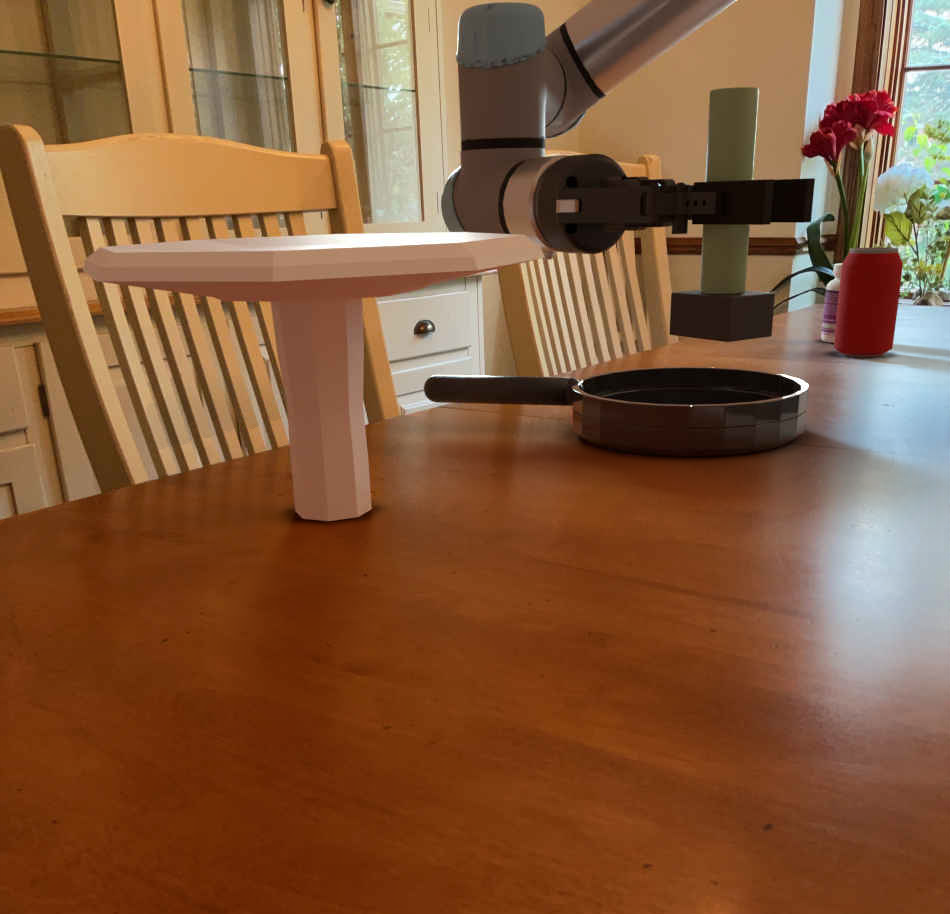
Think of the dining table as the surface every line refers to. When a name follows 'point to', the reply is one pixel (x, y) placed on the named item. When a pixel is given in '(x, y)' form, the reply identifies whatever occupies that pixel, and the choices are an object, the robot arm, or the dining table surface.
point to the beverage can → (868, 302)
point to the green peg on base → (726, 235)
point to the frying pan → (689, 410)
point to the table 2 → (315, 324)
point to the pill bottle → (831, 306)
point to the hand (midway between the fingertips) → (788, 201)
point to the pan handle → (500, 389)
